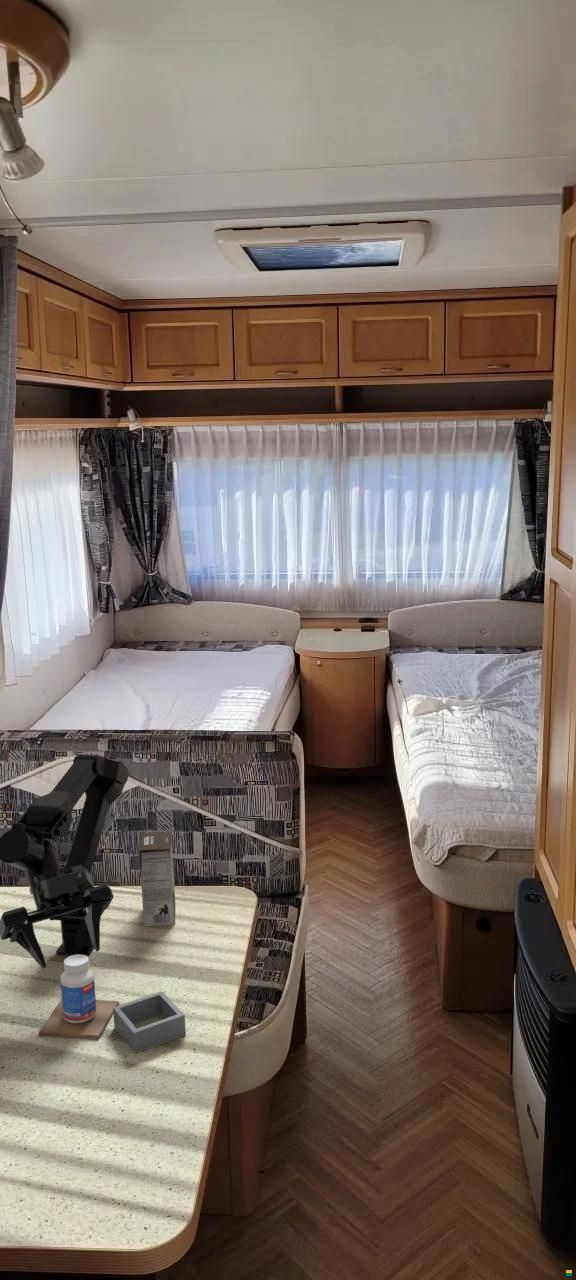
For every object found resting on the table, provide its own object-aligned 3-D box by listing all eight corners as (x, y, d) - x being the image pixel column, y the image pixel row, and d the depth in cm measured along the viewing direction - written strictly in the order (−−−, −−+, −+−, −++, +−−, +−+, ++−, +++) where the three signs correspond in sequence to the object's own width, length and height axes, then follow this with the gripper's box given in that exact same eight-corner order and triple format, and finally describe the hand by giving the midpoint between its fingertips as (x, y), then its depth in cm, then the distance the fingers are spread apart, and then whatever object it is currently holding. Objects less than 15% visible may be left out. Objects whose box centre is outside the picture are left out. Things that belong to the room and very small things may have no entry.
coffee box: (144, 906, 200) (139, 832, 197) (176, 904, 200) (171, 830, 197) (143, 927, 191) (137, 849, 188) (176, 924, 191) (171, 847, 188)
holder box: (114, 1027, 157) (112, 1007, 156) (163, 1010, 161) (161, 991, 161) (135, 1053, 150) (133, 1032, 149) (185, 1035, 154) (184, 1014, 153)
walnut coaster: (62, 1001, 165) (61, 998, 165) (118, 1004, 164) (118, 1001, 163) (39, 1035, 155) (38, 1032, 155) (99, 1039, 154) (98, 1035, 154)
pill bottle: (88, 1026, 156) (84, 969, 155) (57, 1023, 157) (53, 967, 156) (101, 1007, 162) (97, 953, 160) (71, 1005, 163) (67, 950, 161)
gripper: (-4, 867, 156) (23, 958, 149) (105, 839, 166) (135, 924, 159) (-13, 895, 164) (12, 983, 157) (91, 867, 174) (120, 949, 167)
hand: (71, 958), depth 160 cm, fingers open, 9 cm apart
